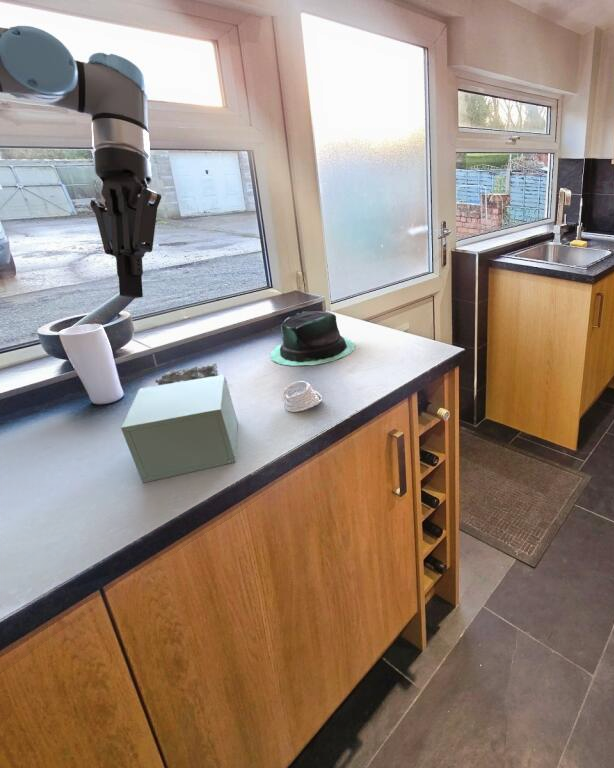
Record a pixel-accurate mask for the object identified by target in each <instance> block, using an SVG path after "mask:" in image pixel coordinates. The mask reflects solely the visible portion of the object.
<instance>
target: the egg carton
mask: <svg viewBox="0 0 614 768" xmlns="http://www.w3.org/2000/svg"><path fill="white" fill-rule="evenodd" d="M213 376H219V371H218V365H217V363H216V362H215V363H213V364H211V365H209V364H208V365H207V366H201V367H199V366H195V367H192V368H190V367H189V368H185V369H178V368H174V369H170V370H168V371H167V372H165V373H164V374H163V375H161V378H159V379H155V383H156V384H157V386H158V385H164V384H170V383H176V382H182V381H189V380H195V379H201V378H207V377H213Z"/></svg>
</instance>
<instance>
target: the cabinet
mask: <svg viewBox="0 0 614 768" xmlns="http://www.w3.org/2000/svg"><path fill="white" fill-rule="evenodd" d="M218 375H219V374H218ZM238 424H239V421H238V418H237V414H236V411H235V407H234V403H233V400H232V397H231V393H230V389H229V386H228V382H227V378H226V375H225V374H220V375H219V376H213V377H207V378H201V379H195V380H189V381H182V382H176V383H170V384H164V385H158V384H157V385H152V386H147V387H140V388H138V390H137V392H136V395H135V397H134V399H133V401H132V403H131V405H130V407H129V410H128V412H127V413H126V416H125V418H124V419H123V422H122V425H121V427H120V429H121V432H122V435H123V438H124V439H125V443H126V445H127V447H128V449H129V453H130V454H131V458H132V460H133V462H134V465H135V467H136V470H137V472H138V475H139V477H140V480H141V482H142V483H141V484H144V483H149V482H153V481H158V480H162V479H166V478H171V477H176V476H180V475H184V474H188V473H189V474H190V473H193V472H198V471H202V470H207V469H211V468H215V467H220V466H223V465H228V464H234V463H236V462H237V448H238Z"/></svg>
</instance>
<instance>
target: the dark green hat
mask: <svg viewBox="0 0 614 768" xmlns="http://www.w3.org/2000/svg"><path fill="white" fill-rule="evenodd" d="M280 329H281V334H282V338H281V340H282V343H281V344H279V345H277V346H276V347H275V348H273V350H272V351H271V352H270V355H269V358H270V360H271V361H272V362H274V363H277V364H279V365H284V366H293V367H295V366H298V367H299V366H315V365H322V364H325V363H331V362H333V361H337V360H338V359H341V358H344V357H347V356H348V355H349V354H351V353H352V352H353V351H354V350H355V349H356V348H355V347H356V344H355V342H354V341H353V340H351V339H348V338H346V337H344V336H342V335H341V333H340V330H339V327H338V323H337V316H336V315H335V314H334V313H331V312H328V311H318V310H313V311H311V310H310V311H302V312H301V313H300V312H297V313H296V314H294V315H293V316H288V317H287V318H286V319H284V321H283V322H282V323H281V327H280Z"/></svg>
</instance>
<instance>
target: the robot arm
mask: <svg viewBox="0 0 614 768" xmlns="http://www.w3.org/2000/svg"><path fill="white" fill-rule="evenodd" d="M87 60H88V61H87V62H84V61H80V60H76V59H75V58H74V56H73V54H72V53H71V51H70V50H69V49H68V48H67V47H66V45H65V44H64V43H63V42H62V41H61V40H60V39H58V38H57V37H56V36H55V35H53V34H52V33H49V32H48V31H46V30H44V29H41V28H38V27H34V26H29V25H16V26H10V27H9V28H8V27H0V93H3V94H7V95H10V96H12V97H15V98H16V99H26V100H30V101H33V102H37V103H42V104H45V105H49V106H53V107H58V108H61V109H66V110H69V111H75V112H77V113H79V114H85V115H88V116H91V133H92V134H91V137H92V139H91V140H92V148H93V150H94V152H93V164H94V167H93V168H94V173H95V175H96V176H97V177H98V178H99V179H100V181H102V187H101V191H100V193H101V197H100V198H99V200H98V201H96V200H91V201H90V202H89V205H90V208H91V210H92V211H93V213H94V214H95V218H96V223H97V226H98V231H99V234H100V239H101V243H102V247H103V250H104V254H106V255H109V256H112V257H114V258H115V262H116V275H117V277H118V289H119V296H121V297H125V298H126V297H127V298H133V299H139V298H143V297H144V295H143V294H144V292H143V279H142V276H143V273H144V267H143V258H144V257H145V254H146V253H151V252H152V251H153V249H154V239H155V232H156V231H155V230H156V224H157V215H158V208H159V205H160V202H161V200H162V194H161V193H159V192H156V191H153V190H151V189H150V187H149V186H150V185H151V183H152V181H153V179H152V163H151V161H150V159H151V150H150V137H149V136H150V134H149V115H148V113H149V112H148V95H147V89H146V82H145V76H144V74H143V72H142V71H141V69H140V68H139V67H138V66H137V65H136V64H135V63H133V62H132V61H131V60H128V59H127V58H126V57H122V56H120V55H118V54H115V53H110V54H108V53H107V54H106V53H105V52H95V53H92V54H90V56H89V57H88V59H87Z"/></svg>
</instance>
